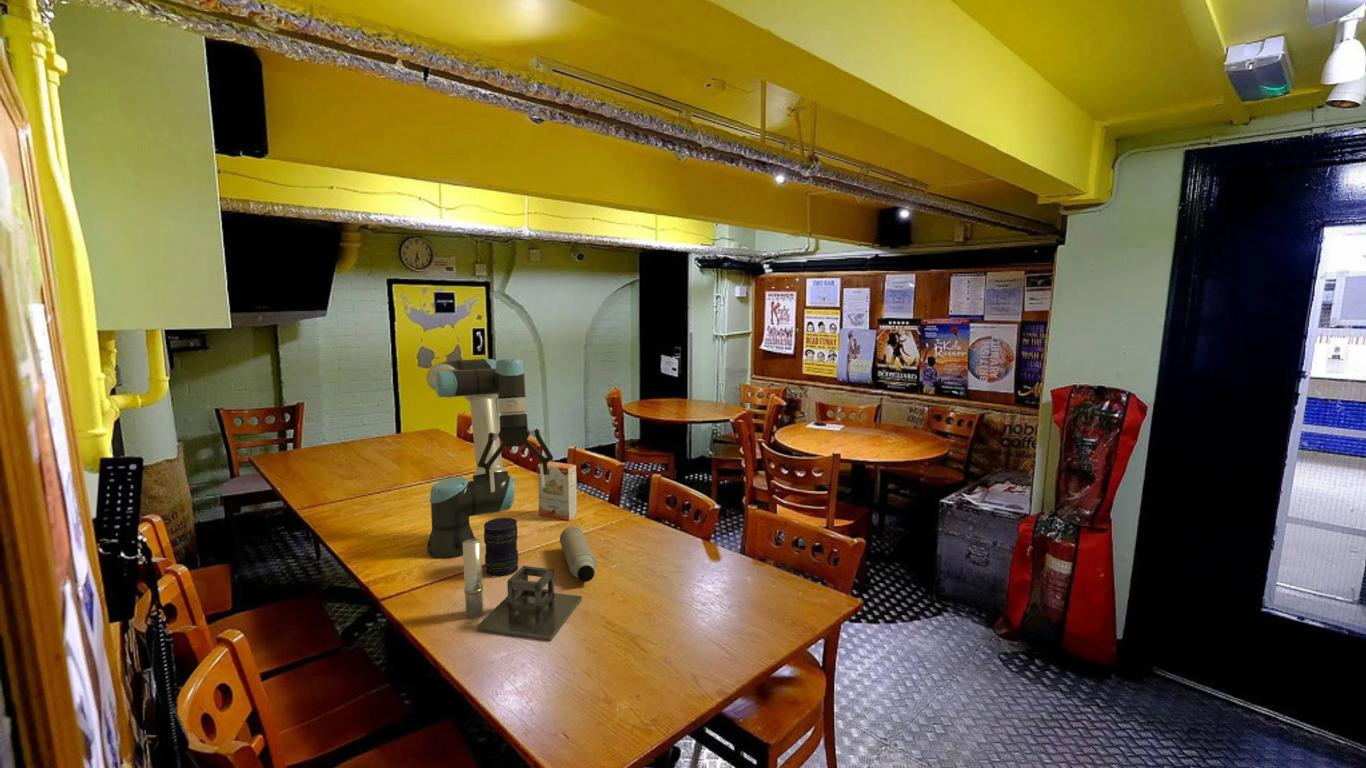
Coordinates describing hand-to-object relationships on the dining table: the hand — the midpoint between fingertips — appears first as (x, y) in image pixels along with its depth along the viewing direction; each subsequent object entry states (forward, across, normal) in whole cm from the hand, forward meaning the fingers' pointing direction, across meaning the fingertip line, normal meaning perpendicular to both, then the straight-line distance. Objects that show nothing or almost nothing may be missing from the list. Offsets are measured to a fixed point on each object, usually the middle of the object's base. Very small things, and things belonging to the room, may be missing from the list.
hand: (518, 489), depth 161 cm
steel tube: (+31, -13, -6) cm, 34 cm away
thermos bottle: (+22, +13, +30) cm, 40 cm away
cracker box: (+22, +8, +61) cm, 66 cm away
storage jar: (+27, -8, +19) cm, 34 cm away
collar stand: (+32, +2, -9) cm, 34 cm away
